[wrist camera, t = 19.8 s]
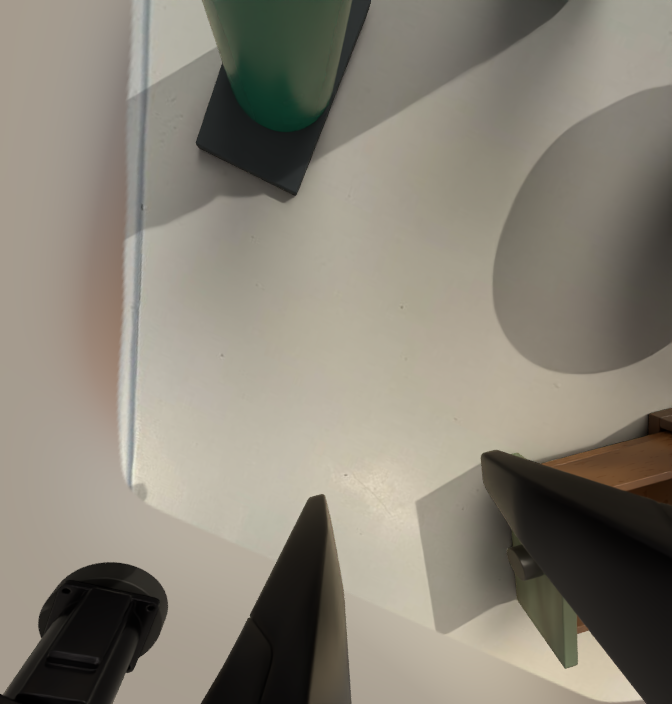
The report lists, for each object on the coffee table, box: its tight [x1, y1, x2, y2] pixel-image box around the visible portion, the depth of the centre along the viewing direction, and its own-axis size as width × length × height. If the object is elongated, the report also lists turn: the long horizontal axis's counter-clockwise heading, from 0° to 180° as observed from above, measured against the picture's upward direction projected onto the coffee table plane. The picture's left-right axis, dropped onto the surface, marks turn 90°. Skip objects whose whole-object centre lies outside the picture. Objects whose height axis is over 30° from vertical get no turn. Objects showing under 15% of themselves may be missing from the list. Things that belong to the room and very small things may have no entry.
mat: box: [196, 0, 371, 196], centre depth 17 cm, size 10×6×1 cm, turn 156°
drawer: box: [507, 430, 672, 669], centre depth 24 cm, size 17×14×5 cm
